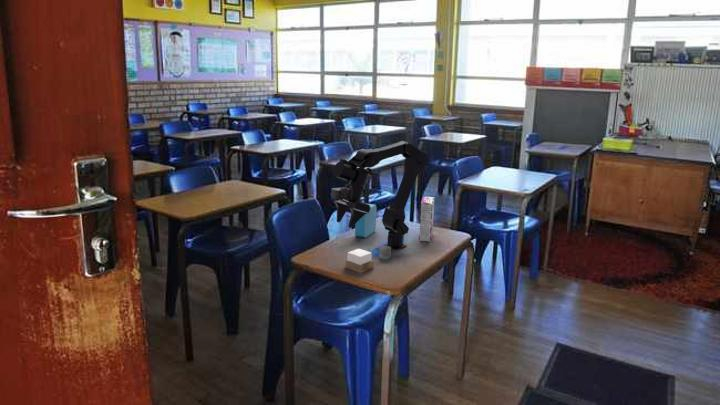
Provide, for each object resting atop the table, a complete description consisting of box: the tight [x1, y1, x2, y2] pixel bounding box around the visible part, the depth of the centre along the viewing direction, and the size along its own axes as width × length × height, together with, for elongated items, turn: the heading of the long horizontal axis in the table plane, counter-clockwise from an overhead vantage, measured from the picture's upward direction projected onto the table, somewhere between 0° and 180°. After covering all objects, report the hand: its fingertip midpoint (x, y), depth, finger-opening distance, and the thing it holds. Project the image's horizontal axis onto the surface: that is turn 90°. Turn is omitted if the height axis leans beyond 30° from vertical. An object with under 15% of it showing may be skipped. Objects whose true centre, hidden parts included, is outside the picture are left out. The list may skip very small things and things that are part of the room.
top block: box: [346, 248, 373, 265], centre depth 187 cm, size 6×6×3 cm
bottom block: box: [345, 259, 375, 274], centre depth 188 cm, size 7×7×3 cm
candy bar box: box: [418, 196, 435, 243], centre depth 221 cm, size 11×5×16 cm, turn 168°
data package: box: [354, 203, 377, 239], centre depth 224 cm, size 12×4×12 cm, turn 156°
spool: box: [378, 245, 392, 261], centre depth 198 cm, size 4×4×4 cm
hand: (343, 225), depth 193 cm, fingers open, 9 cm apart
